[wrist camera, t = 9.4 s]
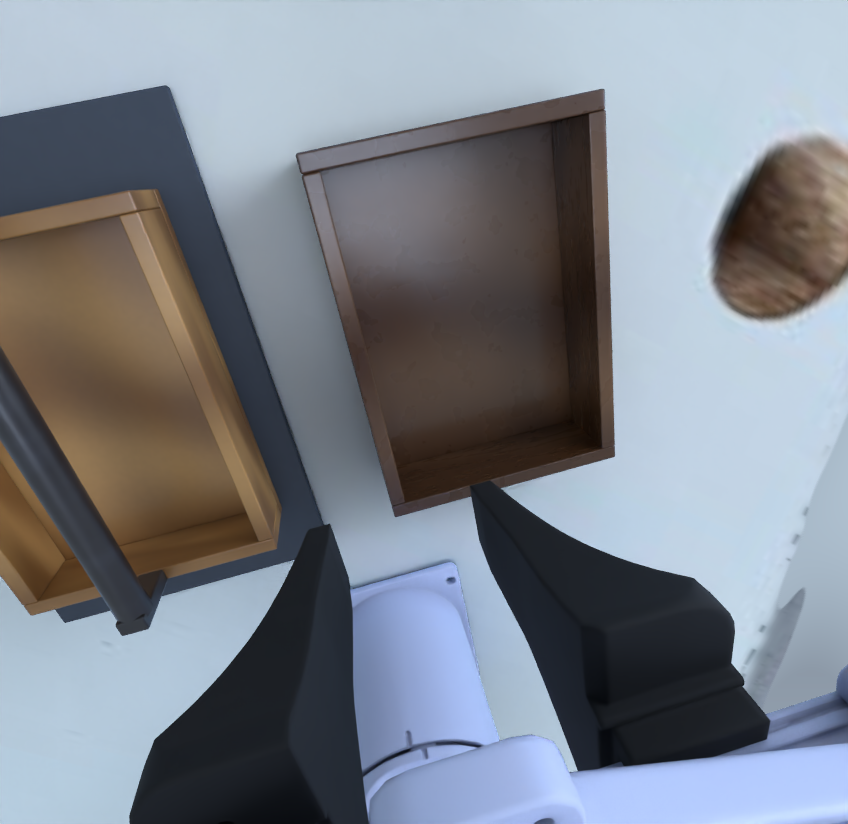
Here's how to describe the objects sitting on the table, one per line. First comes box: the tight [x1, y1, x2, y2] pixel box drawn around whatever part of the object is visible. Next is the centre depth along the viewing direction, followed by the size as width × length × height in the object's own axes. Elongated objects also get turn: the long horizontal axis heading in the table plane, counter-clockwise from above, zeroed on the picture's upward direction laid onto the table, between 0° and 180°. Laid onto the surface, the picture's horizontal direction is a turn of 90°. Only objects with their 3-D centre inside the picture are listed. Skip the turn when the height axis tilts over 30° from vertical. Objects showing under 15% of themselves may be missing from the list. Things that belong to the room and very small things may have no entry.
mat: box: [0, 86, 323, 623], centre depth 21 cm, size 20×13×1 cm, turn 11°
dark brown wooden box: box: [296, 89, 615, 517], centre depth 20 cm, size 14×10×4 cm
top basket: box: [0, 189, 282, 636], centre depth 18 cm, size 14×10×6 cm
